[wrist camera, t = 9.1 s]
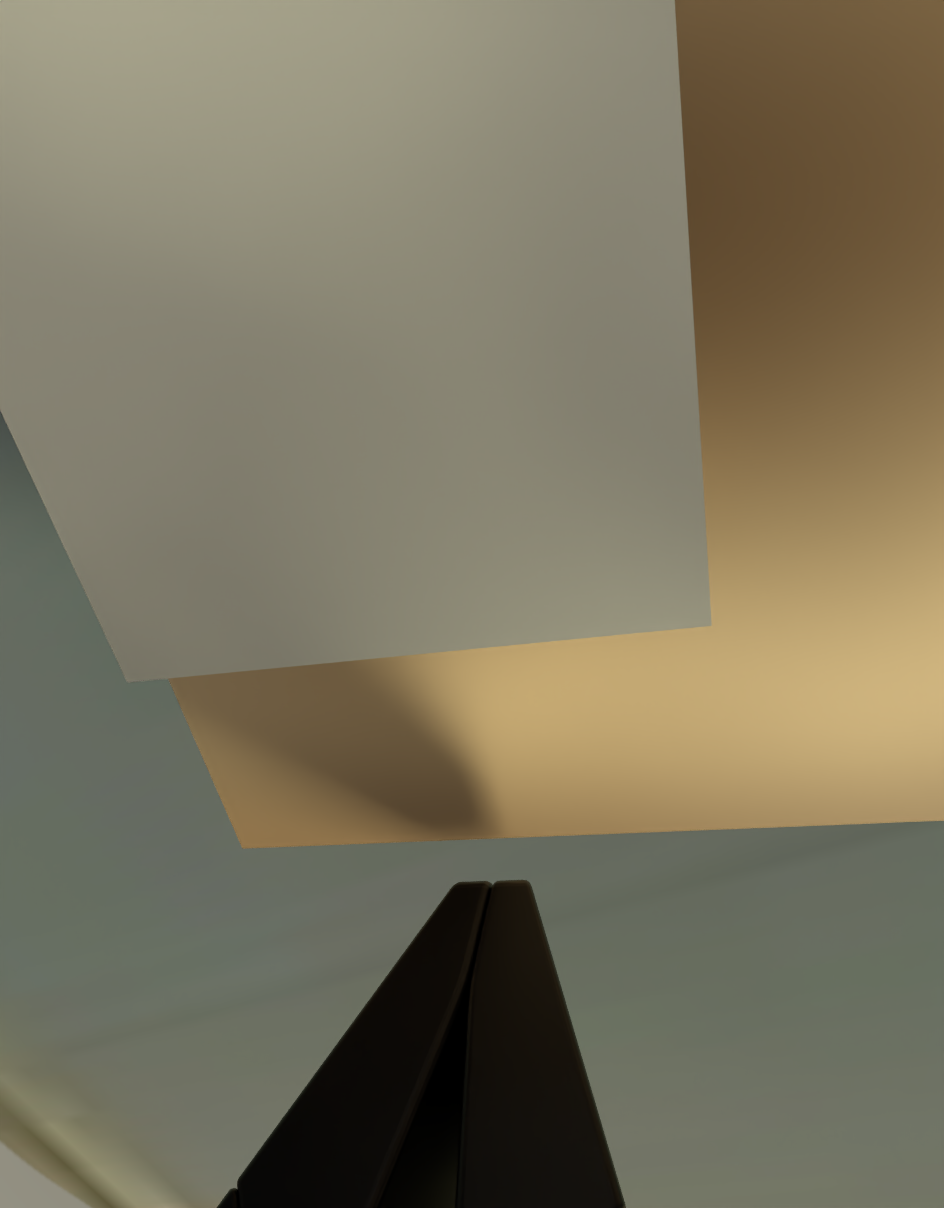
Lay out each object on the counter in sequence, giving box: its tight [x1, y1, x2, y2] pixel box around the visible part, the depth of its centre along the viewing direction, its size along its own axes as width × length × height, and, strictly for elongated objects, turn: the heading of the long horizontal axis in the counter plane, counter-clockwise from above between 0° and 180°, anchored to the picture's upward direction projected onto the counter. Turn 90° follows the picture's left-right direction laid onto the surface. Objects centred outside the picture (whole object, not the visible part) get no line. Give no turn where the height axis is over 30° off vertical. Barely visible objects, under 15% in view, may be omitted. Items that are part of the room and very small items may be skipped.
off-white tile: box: [0, 0, 712, 682], centre depth 5 cm, size 4×4×2 cm
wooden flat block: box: [168, 0, 944, 848], centre depth 7 cm, size 12×16×4 cm
